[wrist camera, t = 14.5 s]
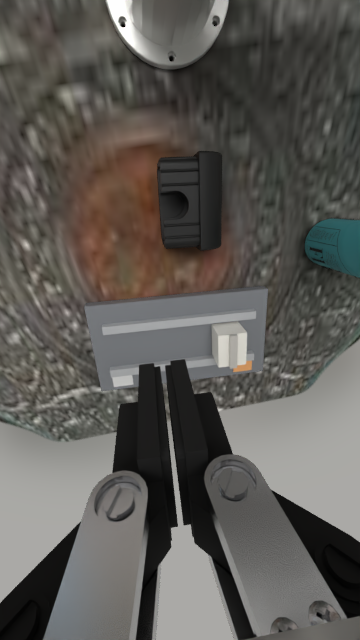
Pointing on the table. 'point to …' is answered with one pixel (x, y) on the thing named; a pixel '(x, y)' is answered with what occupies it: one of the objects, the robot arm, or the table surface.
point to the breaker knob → (229, 344)
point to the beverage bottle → (335, 245)
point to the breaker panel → (173, 333)
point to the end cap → (191, 200)
